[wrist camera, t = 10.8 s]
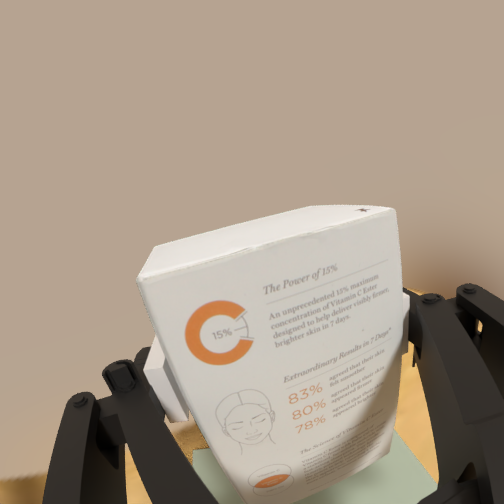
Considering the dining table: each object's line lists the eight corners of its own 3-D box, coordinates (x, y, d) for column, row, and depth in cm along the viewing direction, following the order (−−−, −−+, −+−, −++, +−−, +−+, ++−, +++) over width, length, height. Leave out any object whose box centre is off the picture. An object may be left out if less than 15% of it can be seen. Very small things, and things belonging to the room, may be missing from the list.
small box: (337, 398, 17) (312, 203, 14) (392, 454, 11) (401, 204, 8) (224, 441, 15) (151, 243, 12) (251, 518, 9) (131, 276, 6)
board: (204, 574, 8) (196, 570, 7) (198, 459, 19) (192, 450, 19) (438, 501, 9) (444, 493, 9) (371, 411, 21) (372, 400, 21)
